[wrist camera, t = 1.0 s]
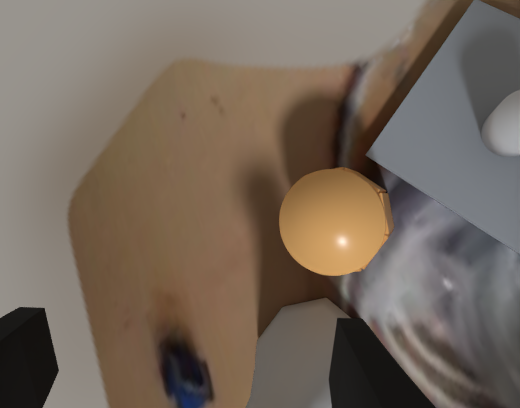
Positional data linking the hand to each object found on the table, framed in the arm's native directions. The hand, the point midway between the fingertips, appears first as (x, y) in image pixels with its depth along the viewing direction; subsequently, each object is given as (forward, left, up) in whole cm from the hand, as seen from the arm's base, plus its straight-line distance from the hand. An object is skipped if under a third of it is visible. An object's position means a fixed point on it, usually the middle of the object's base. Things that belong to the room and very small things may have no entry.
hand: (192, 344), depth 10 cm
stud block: (-4, -11, -14) cm, 18 cm away
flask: (-3, +5, -15) cm, 16 cm away
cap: (0, -3, -14) cm, 15 cm away
